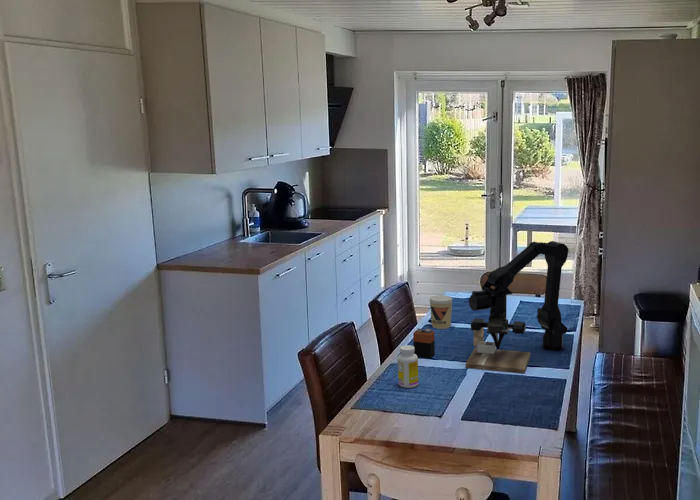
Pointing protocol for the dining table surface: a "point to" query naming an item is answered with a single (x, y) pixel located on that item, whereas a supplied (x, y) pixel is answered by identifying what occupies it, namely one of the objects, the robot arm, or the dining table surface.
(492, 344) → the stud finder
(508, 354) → the board
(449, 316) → the coffee cup
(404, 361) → the supplement bottle
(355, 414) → the dining table surface
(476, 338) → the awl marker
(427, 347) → the battery
